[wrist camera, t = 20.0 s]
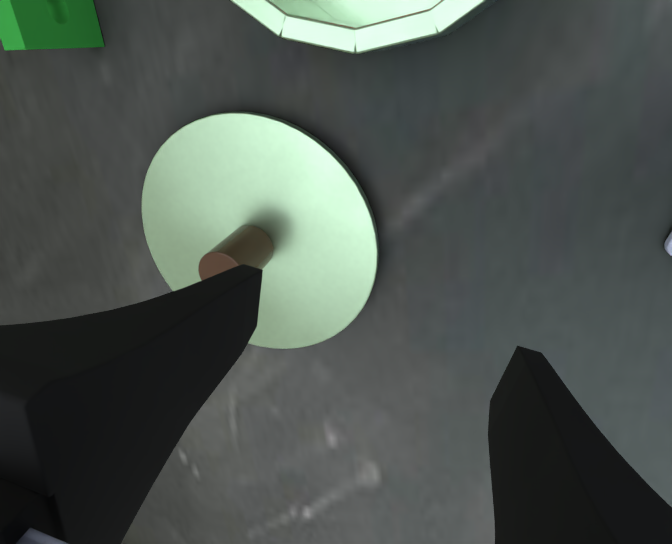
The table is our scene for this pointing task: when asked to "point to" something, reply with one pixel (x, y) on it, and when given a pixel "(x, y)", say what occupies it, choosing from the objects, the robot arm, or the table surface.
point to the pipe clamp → (49, 24)
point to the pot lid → (264, 222)
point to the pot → (362, 21)
